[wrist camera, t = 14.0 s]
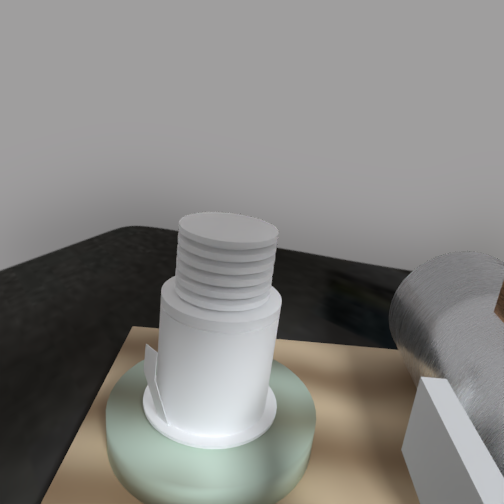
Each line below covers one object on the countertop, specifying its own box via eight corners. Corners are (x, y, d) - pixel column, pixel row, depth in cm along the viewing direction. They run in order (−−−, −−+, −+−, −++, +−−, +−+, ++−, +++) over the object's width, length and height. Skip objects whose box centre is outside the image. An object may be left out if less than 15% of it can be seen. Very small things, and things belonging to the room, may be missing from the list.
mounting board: (132, 343, 35) (132, 302, 34) (485, 374, 36) (497, 335, 34) (-15, 646, 17) (-28, 581, 16) (726, 709, 17) (773, 650, 16)
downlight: (191, 484, 20) (212, 267, 16) (108, 399, 24) (111, 214, 21) (308, 410, 25) (341, 236, 22) (222, 352, 30) (239, 200, 26)
